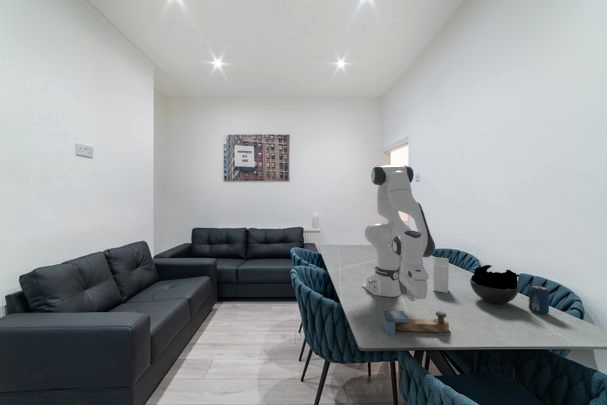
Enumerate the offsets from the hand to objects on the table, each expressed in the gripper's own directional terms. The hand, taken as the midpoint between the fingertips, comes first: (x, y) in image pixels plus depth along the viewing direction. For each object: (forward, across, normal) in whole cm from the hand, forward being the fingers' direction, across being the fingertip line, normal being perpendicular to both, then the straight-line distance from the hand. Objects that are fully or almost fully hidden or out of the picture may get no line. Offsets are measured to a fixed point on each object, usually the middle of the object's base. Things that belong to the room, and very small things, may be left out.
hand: (411, 299), depth 110 cm
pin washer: (+9, +9, +8) cm, 15 cm away
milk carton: (+11, -36, +32) cm, 49 cm away
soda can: (+10, -8, +63) cm, 64 cm away
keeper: (+9, +8, -10) cm, 15 cm away
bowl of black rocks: (+10, -19, +50) cm, 55 cm away
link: (+8, +8, +1) cm, 12 cm away
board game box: (+12, -56, +14) cm, 60 cm away
